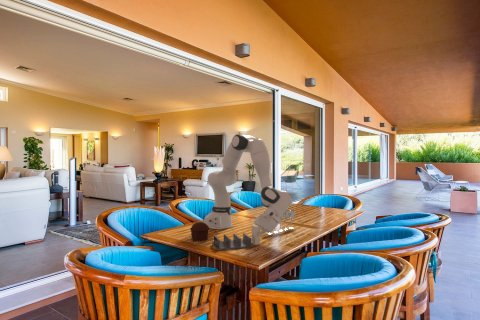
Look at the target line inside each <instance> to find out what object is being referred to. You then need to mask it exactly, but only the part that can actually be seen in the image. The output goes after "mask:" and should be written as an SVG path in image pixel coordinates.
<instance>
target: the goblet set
mask: <svg viewBox="0 0 480 320" xmlns="http://www.w3.org/2000/svg"><path fill="white" fill-rule="evenodd" d="M295 217H296V211H295V210H293V209H287V210H286V211H285V212H284V213H283V214H282V216H281V217H280V220H281V223H280V224H279V226H280V228H279V229H277V231H276V230H273V231H272V232H270V233H268V232H267V231H266V232H265V234H266V235H273V234H277V233H279V232H284V231H287V230H289V229H290V230H292V229H295V227H294V226H289V227H285V228H283V229H282V228H281V226H282V225H281V224H282V220H283V218H284V221H285V223H287V219H289V220H290V223H292V221H293V219H294V218H295Z"/></svg>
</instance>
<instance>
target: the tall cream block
mask: <svg viewBox="0 0 480 320" xmlns="http://www.w3.org/2000/svg"><path fill="white" fill-rule="evenodd" d="M260 231H261V228H260V226H258V225H255V224H251V244H253V245H254V246H258V245H259V246H260V245H261V236H260V237H259V236H258V235H257V234H258V233H259V232H260Z"/></svg>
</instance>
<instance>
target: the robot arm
mask: <svg viewBox="0 0 480 320" xmlns="http://www.w3.org/2000/svg"><path fill="white" fill-rule="evenodd" d="M243 153H249V155H250V158H251V163H252V165H253V168H254V170H255V172H256V174H257V176H258V178H259V182H260V186H261V191H260V198H261V200H260V201H261V204H262V205H263V207H264V208H266V209H265V210H264V212H263V213H261V214H259V215H258V216H257V217H256V218H255V219H254V220H253V223H254V225H258V226H260V229H261V230H260V232H259V233H258V234H257V235H258V236H259V237H260V238H261V236H263V235H264V234H266V233H267V232H268V233H273V232H272V231H275V230H276V229H277V226H278V225H280V223H281V224H282V221H281V220H280V217H281V216H282V214H283V213H284V212H285V211H286V210H289V208H290V206H291V204H292V203H293V197H292V196H291V194H290V192H288V191H286V190H280V189H278V188H275V187H273V186H272V182H271V178H270V163H271V162H270V155H269V154H270V153H269V150H268V147H267V145H266V143H265V141H264V140H263V139H262V138H259V137H255V136H253V135H248V134H247V135H246V134H242V133H238V134H235V135H233V137H232V139H231V141H230V142H229V145H228V146H227V148H226V150H225V152H224V155H223V158H222V159H221V165H222V169H221V170H220V171H219V170H217V171H213V172H210V173H208V175H207V183H208V185H209V186H210V187H211V189H212V191H213V194H214V195H213V196H214V205H213V206H212V207H211V212H209V213H208V214H207V215H206V216H205V217H204V219H203V223H205V224H207V225H208V227H209V229H212V230H222V229H223V230H224V229H230V228H233V221H232V207H231V193H229V192H228V190H227V187H230V186H233V185H235V184H236V183H237V181H238V176H237V174H236V172H237V168H238V166H239V165H238V164H240V163H239V162H240V160H241V158H242V156H243Z"/></svg>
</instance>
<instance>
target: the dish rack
mask: <svg viewBox="0 0 480 320" xmlns="http://www.w3.org/2000/svg"><path fill="white" fill-rule="evenodd" d="M232 235H233V239H231V238H229V236H228V235H227V234H225V233H224V234H223V240H220V238H218V236H216V235H215V234H213V241H212V245H213V246H214V247H215V248H216V250H217V251H218V252H219V251H221V252H222V251H228V250H229V251H230V250H240V249H241V250H242V249H252V248H253V245H252V236H249V235H248V234H246V233H245V232H243V233H242V238H241V237H240V236H238V235H237V234H236V233H233V234H232Z"/></svg>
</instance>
